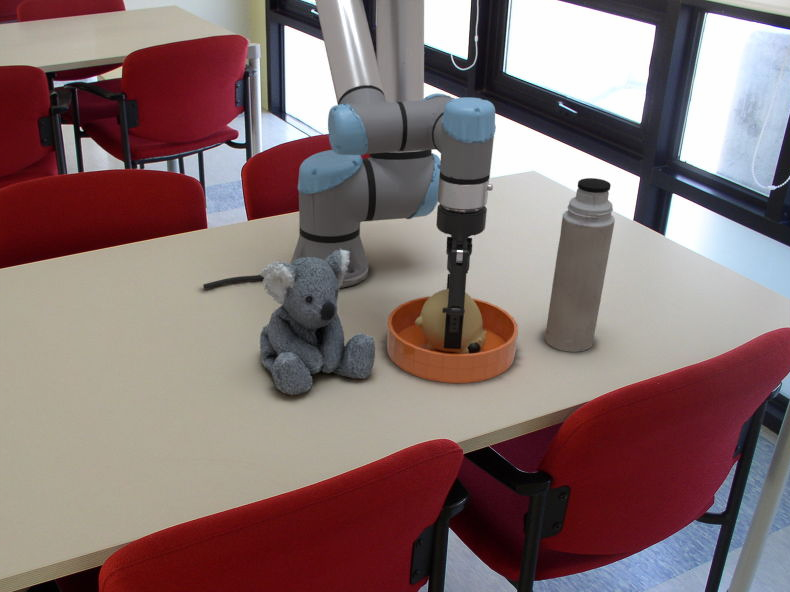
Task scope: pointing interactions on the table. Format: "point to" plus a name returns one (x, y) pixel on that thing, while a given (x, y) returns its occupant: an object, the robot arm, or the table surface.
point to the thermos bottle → (580, 267)
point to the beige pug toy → (435, 321)
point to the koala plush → (310, 324)
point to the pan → (448, 366)
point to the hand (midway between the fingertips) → (452, 328)
